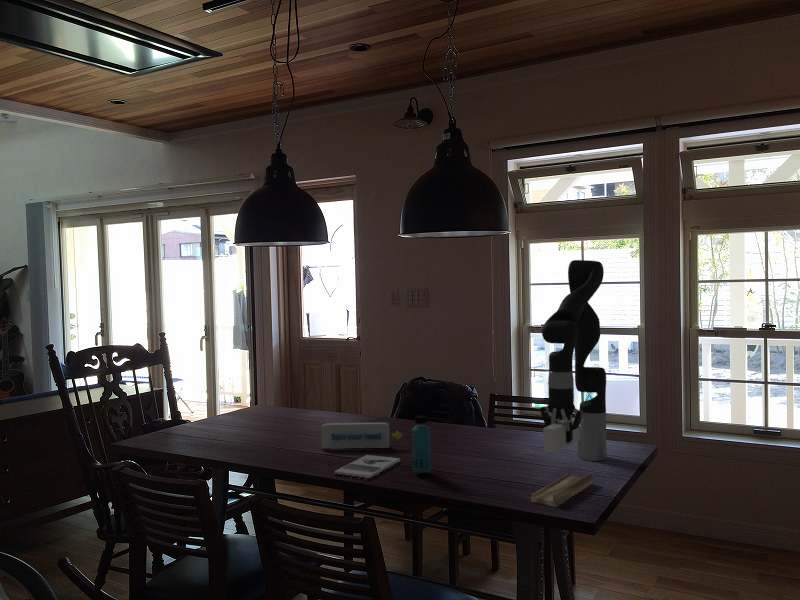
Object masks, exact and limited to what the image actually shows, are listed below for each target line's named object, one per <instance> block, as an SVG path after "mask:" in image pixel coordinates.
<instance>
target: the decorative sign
mask: <svg viewBox="0 0 800 600" xmlns="http://www.w3.org/2000/svg"><path fill="white" fill-rule="evenodd" d="M320 432H321V433H320V434H321V436H320V437H321V441H320V442H321V449H322V448H365V447H369V448H371V447H373V448H386V449H388V448H390V445H391V444H390V424H389V423H388V422H338V423H337V422H335V423H333V422H332V423H331V422H330V423H324V424H322V425H321V428H320ZM395 432H396V433H391V438H396V440H399V439H401V437H402V436H403V433H402V432H399V431H397V430H396V431H395Z"/></svg>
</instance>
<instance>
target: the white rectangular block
mask: <svg viewBox="0 0 800 600" xmlns="http://www.w3.org/2000/svg"><path fill="white" fill-rule="evenodd" d="M574 419H575V417H572V425H573V422H574ZM542 429H543V434H542V435H543V452H545V453H551V454H552V453H553V454H557V453H558V452H560V451H562V450H564V449H566V448H568V447H570V446H572V445H573V444H576V443H578V441H580V427H579V428H577V429H575V430H573V440H572V441H571V442H570V443H566V431H567V430H566V424H564V421H563V419H560V420H559V421H558V422H556V423H554V424H552V425H549V426H545V427H543V428H542Z"/></svg>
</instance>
